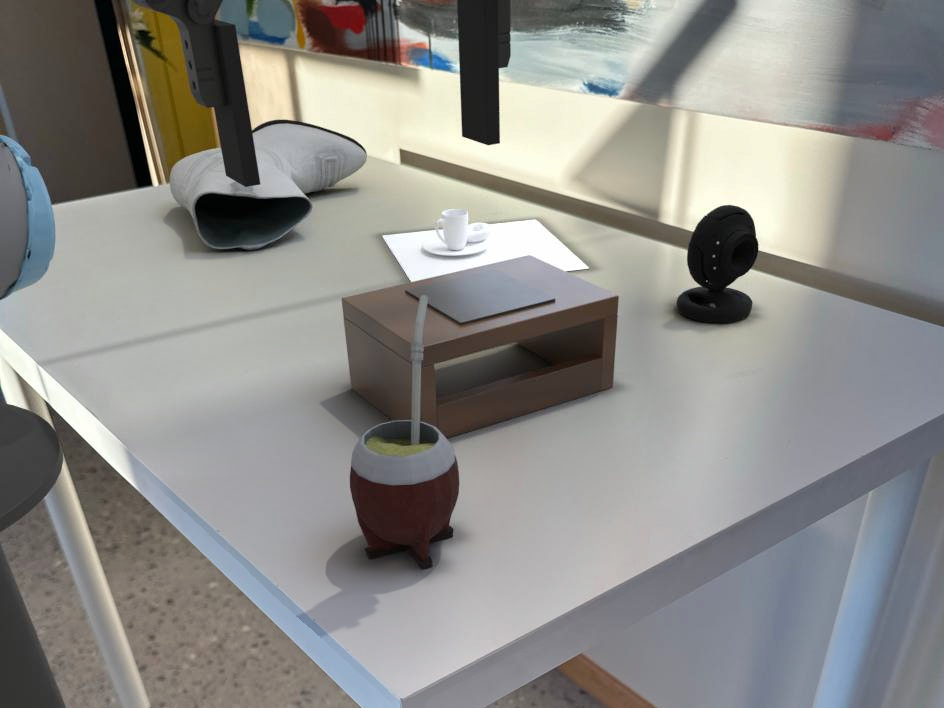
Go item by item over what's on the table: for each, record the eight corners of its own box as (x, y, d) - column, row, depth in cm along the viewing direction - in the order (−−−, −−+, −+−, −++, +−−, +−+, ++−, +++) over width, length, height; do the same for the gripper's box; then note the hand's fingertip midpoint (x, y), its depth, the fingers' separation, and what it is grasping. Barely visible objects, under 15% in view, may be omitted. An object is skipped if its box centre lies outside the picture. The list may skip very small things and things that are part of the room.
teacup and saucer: (486, 235, 119) (485, 199, 116) (503, 254, 113) (503, 217, 110) (416, 242, 117) (413, 206, 115) (430, 262, 111) (428, 225, 109)
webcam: (709, 330, 94) (723, 222, 87) (659, 307, 99) (669, 203, 92) (768, 313, 97) (786, 207, 91) (716, 292, 102) (730, 190, 96)
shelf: (351, 388, 85) (340, 295, 80) (528, 339, 93) (529, 252, 88) (423, 445, 77) (416, 345, 72) (613, 387, 84) (619, 292, 79)
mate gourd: (380, 585, 62) (355, 361, 53) (340, 526, 68) (311, 314, 58) (484, 555, 64) (480, 336, 55) (438, 501, 70) (426, 293, 61)
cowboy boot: (155, 141, 128) (174, 189, 109) (356, 103, 133) (405, 143, 115) (176, 215, 134) (197, 273, 116) (367, 177, 139) (416, 226, 121)
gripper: (-20, -526, 29) (151, 218, 42) (635, -447, 39) (606, 137, 52) (-58, -465, 34) (105, 183, 47) (530, -409, 44) (529, 115, 57)
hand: (368, 160), depth 50 cm, fingers open, 13 cm apart
